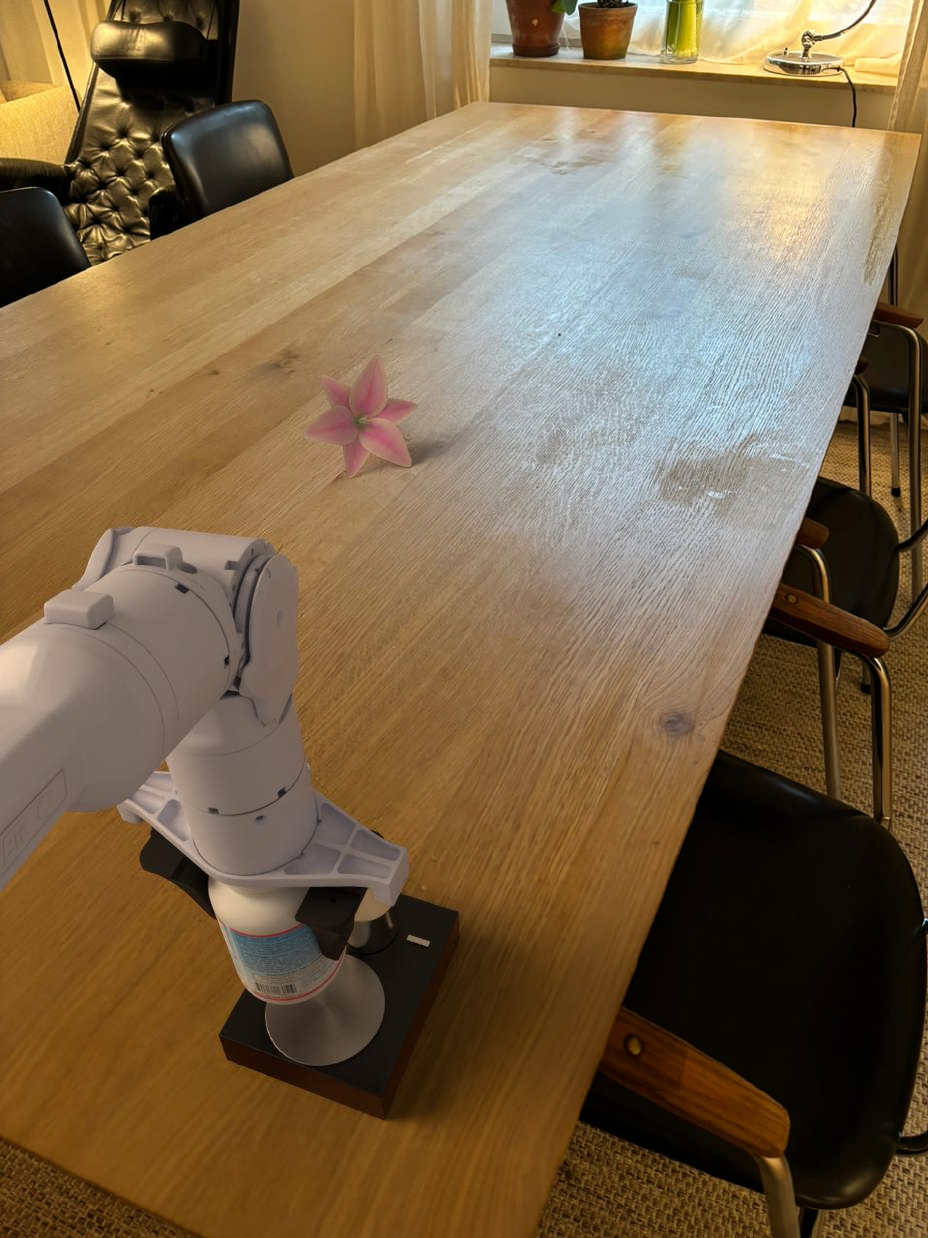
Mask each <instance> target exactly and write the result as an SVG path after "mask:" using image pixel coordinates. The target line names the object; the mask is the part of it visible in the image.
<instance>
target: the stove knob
mask: <svg viewBox="0 0 928 1238" xmlns="http://www.w3.org/2000/svg"><path fill="white" fill-rule="evenodd" d="M399 924H400V921H399V910H398V899H397V900H396V903H395V905H394V906H389V905H386V904H383V903H380V902H377V901H375V900H374V897H373V891H372V889H371V888H368V890H367V892H366V894H365V896H364V898H363V900H362V902H361V904H360V906H359V908H358V910H357V912H356V914H355V919H354V928H353V932H352V934H351V936H350V938H349V940H348V942H347V944H346V949H348V950H350V951H352V952H356V953H362V954H367V953H373V952H377V951H379V950H381V949H383V948H385V947H386V946H387V945H389V944H390V943H391V942H392V940H393V939H394V938H395V936H396V935H397V932H398V929H399Z"/></svg>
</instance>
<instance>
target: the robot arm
mask: <svg viewBox="0 0 928 1238" xmlns="http://www.w3.org/2000/svg"><path fill="white" fill-rule="evenodd" d="M299 606H300V581H299V571H298V565H293V563H292V561H291V559H290V558H289V557H288V556H286V555H285V554H281V553H280V554H278V553H277V552H276V549H275V547H274V545H272V543H271V542H270V541H268V540H266V539H265V538H259V537H251V536H250V537H249V536H241V535H234V534H233V535H231V534H222V533H213V532H204V531H194V530H186V529H177V528H168V527H167V528H166V527H159V526H149V525H143V526H138V527H133V526H130V525H125V526H124V525H123V526H119V527H117V528H112V527H110V528H107V530H105V532H104V533H103V534H102V535H101V537H100V538H99V540H98V541H97V543H96V545H95V546H94V548H93V550H92V553H91V555H90V557H89V560H88V562H87V565H86V568H85V571H84V573H83V574H82V577H81V578H80V579H79V580H78V581H77V582H76V583H73V584H72V586H71V589H70V588H68V589H64V590H63V591H61V592H60V593H57V594H56V595H55V596H53V597H52V598H50V599H48V600H47V601H46V602H44V604H43V612H44V616H43V617H41V618H40V619H38V620H37V621H35V622H34V623H32V624H30V625H29V626H27V627H26V628H25V629H23V630H22V631H20V632H19V633H17V634H16V635H14V636H13V637H11V638H9V639H8V640H6V641H5V642H4V643H2V644H0V894H1V893H2V892H3V890H5V888H6V887H7V886H8V884H9V883H10V881H11V880H12V879H13V878H14V877H15V875H16V874H17V873H18V871H19V870H20V869H21V868H22V866H23V865H24V864H25V863H26V862H27V860H28V859H29V857H30V856H31V855H32V854H33V853H34V851H35V850H36V849H37V847H38V846H39V845H40V844H41V843H42V842H43V841H44V839H45V838H46V837H47V835H48V834H49V832H51V830H52V829H53V828H54V826H55V825H56V824H57V822H58V821H59V820H60V819H61V818H62V816H63V815H64V814H65V813H66V812H69V813H95V812H100V811H104V810H108V809H112V808H114V807H116V808H117V810H118V813H119V815H120V817H121V820H122V821H124V822H127V823H131V824H134V825H141V824H142V823H144V822H146V823H147V824H149V826H150V827H151V829H150V831H149V834H150V837H149V838H148V840H147V841H146V843H145V844H144V845H143V847H142V848H141V850H140V852H139V855H138V858H139V859H138V860H139V864H140V866H141V868H142V870H143V871H145V872H148V873H151V874H154V875H157V876H160V877H161V878H163V879H165V880H166V881H169V882H170V883H172V884H174V885H175V886H176V887H177V888H179V889H180V890H182V891H183V892H184V893H186V895H187V896H189V897H190V898H191V899H192V900H193V901H194V902H195V903H196V904H197V905H198V906H199V907H200V908H201V909H202V910H203V911H204V912H205V913H206V914H207V915H208V916H209V917H211V918H212V919H213V920H215V921H218V920H217V917H216V915H215V912H214V909H213V907H212V903H211V900H210V897H209V891H208V880H209V875H210V876H211V877H212V878H214V879H215V880H217V881H219V882H221V883H224V884H227V885H230V886H236V887H247V888H252V887H310V888H309V890H308V892H307V894H306V896H305V897H304V899H303V901H302V903H301V905H300V907H299V909H298V911H297V912H296V914H295V920H296V921H298V922H301V923H304V924H306V925H307V926H309V927H310V929H311V930H312V931H313V932H314V934H315V935H316V938H317V941H318V944H319V948H320V951H321V953H322V954H323V955H324V956H325V957H326V958H329V959H332V960H335V961H337V960H339V959H340V957H341V955H342V953H343V950H344V948H345V946H346V944H347V942H348V940H349V938H350V936H351V934H352V932H353V928H354V919H355V914H356V912H357V910H358V908H359V906H360V904H361V902H362V900H363V898H364V896H365V894H366V892H367V890H368V888H371V889H372V891H373V897H374V900H375V901H377V902H380V903H383V904H386V905H389V906H394V905H395V903H396V900H397V898H398V896H399V894H400V893H401V892H402V890H403V888H404V886H405V884H406V881H407V878H408V876H409V874H410V863H409V854H408V848H407V847H404V846H401V845H398V844H395V843H393V842H391V841H389V840H386V839H385V837H384V836H383V835H382V834H381V833H380V832H378V831H376V830H372V829H370V828H368V827H366V826H365V825H363V824H362V823H361V822H360V821H358V820H357V819H356V818H354V817H353V816H351V815H350V814H349V813H348V812H346V811H345V810H343V809H342V808H341V807H340V806H338V805H337V804H335V803H333V801H331V800H330V799H328V798H327V797H326V796H324V795H323V794H322V793H320V792H319V791H318V790H316V789H314V788H313V785H312V776H313V772H312V767H311V765H310V763H309V762H308V759H307V755H306V749H305V745H304V739H303V734H302V729H301V725H300V719H299V714H298V710H297V705H296V699H295V695H294V690H293V689H294V687H295V685H296V682H297V680H298V677H299V674H300V666H299V664H300V660H301V657H300V651H299V645H298V637H297V635H298V633H297V632H298V618H299V609H300V608H299ZM164 762H166V765H167V768H168V771H164V770H163V771H162V770H157V769H158V768H159V767H161V765H162V764H163V763H164Z"/></svg>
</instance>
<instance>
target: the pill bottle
mask: <svg viewBox="0 0 928 1238" xmlns="http://www.w3.org/2000/svg"><path fill="white" fill-rule="evenodd" d="M309 888H310V887H252V888H247V887H236V886H230V885H227V884H224V883H221V882H219V881H217V880H215V879H214V878H212V877H211V876H210V875H209V880H208V891H209V897H210V900H211V903H212V907H213V909H214V912H215V915H216V917H217V920H216V921H217V922H218V925H219V928H220V930H221V933H222V936H223V938H224V941H225V944H226V947H227V949H228V952H229V955H230V957H231V959H232V963H233V965H234V968H235V970H236V973H237V975H238V977H239V980H240V981H241V983H242V984H243V986H244V987H246V988H247V990H248V991H249V992H251V993H252V994H253V995H254V996H256V997H257V998H259V999H261V1000H263V1001H266V1002H269V1003H273V1004H281V1005H287V1004H295V1003H300V1002H303V1001H306V1000H308V999H310V998H312V997H314V996H316V995H317V994H318V993H320V992H321V991H322V990H323V989H325V988H326V987H327V986H328V985H329V984H330V982H331V981H332V980H333V979H334V977H335V976H336V974H337V973H338V971H339V969H340V967H341V965H342V962H343V960H344V956H345V952H346V946H345V948H344V950H343V953H342V955H341V957H340V959H339V960H337V961H335V960H332V959H329V958H326V957H325V956H324V955H323V954H322V953H321V951H320V948H319V944H318V941H317V938H316V935H315V934H314V932H313V931H312V930H311V929H310V927H309V926H307V925H306V924H304V923H301V922H298V921H296V920H295V914H296V912H297V911H298V909H299V907H300V905H301V903H302V901H303V899H304V897H305V896H306V894H307V892H308V890H309Z"/></svg>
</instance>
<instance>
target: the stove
mask: <svg viewBox="0 0 928 1238" xmlns="http://www.w3.org/2000/svg"><path fill="white" fill-rule="evenodd" d="M397 899H398V910H399V921H400V924H399V929H398V932H397V935H396V936H395V938H394V939H393V940H392V942H391V943H390V944H389V945H387V946H386V947H385V948H383V949H381V950H379V951H377V952H373V953H367V954H362V953H356V952H352V951H350V950H348V949H346V952H345V954H347V955H350V956H353V957H355V958H358V959H359V960H361V961H363V962H364V963H365V964H367V965H368V966H369V967H370V968H371V969H372V970H373V971H374V972H375V974H376V975H377V976H378V978H379V980H380V982H381V985H382V987H383V991H384V996H385V1012H384V1017H383V1021H382V1024H381V1026H380V1029H379V1030H378V1032H377V1034H376V1036H375V1037H374V1039H373V1040H372V1041H371V1043H370V1044H369V1045H368V1046H367V1047H366V1048H365V1049H364V1050H363V1051H361V1052H360V1053H359V1054H357V1055H356V1056H354V1057H353V1058H351V1059H349V1060H347V1061H345V1062H342V1063H340V1064H337V1065H332V1066H327V1067H311V1066H305V1065H302V1064H298V1063H296V1062H294V1061H292V1060H290V1059H289V1058H287V1057H286V1056H284V1055H283V1054H282V1053H281V1052H280V1051H279V1050H278V1049H277V1048H276V1047H275V1045H274V1044H273V1042H272V1040H271V1038H270V1036H269V1033H268V1030H267V1026H266V1019H265V1012H266V1005H267V1002H266V1001H263V1000H261V999H259V998H257V997H256V996H254V995H253V994H252V993H251V992H249V991H248V990H247V988H246V987H245V986H244V987H245V988H244V989H243V991H242V993H241V995H240V996H239V998H238V999H237V1002H236V1003H235V1005H234V1007H233V1008H232V1010H231V1012H230V1014H229V1015H228V1016H227V1019H226V1021H225V1023H224V1024H223V1025H222V1027H221V1029H220V1031H219V1032H218V1034H217V1035H218V1038H219V1042H220V1044H221V1047H222V1049H223V1052H224V1055H225V1058H226V1060H227V1061H229V1062H232V1063H235V1064H237V1065H239V1066H242V1067H245V1068H247V1069H250V1070H253V1071H255V1072H257V1073H261V1074H263V1075H265V1076H267V1077H271V1078H273V1079H276V1080H279V1081H281V1082H283V1083H287V1084H288V1085H291V1086H294V1087H296V1088H299V1089H302V1090H304V1091H307V1092H310V1093H311V1094H315V1095H317V1096H319V1097H322V1098H325V1099H327V1100H330V1101H332V1102H335V1103H338V1104H339V1105H340V1104H341V1105H342V1106H346V1107H348V1108H351V1109H354V1110H356V1111H359V1112H361V1113H364V1114H366V1115H369V1116H372V1117H373V1118H377V1119H379V1120H382V1121H385V1120H386V1118H387V1115H388V1113H389V1110H390V1108H391V1106H392V1103H393V1101H394V1098H395V1096H396V1094H397V1091H398V1089H399V1086H400V1084H401V1082H402V1079H403V1077H404V1074H405V1071H406V1070H407V1067H408V1064H409V1062H410V1060H411V1058H412V1055H413V1053H414V1050H415V1048H416V1045H417V1043H418V1041H419V1038H420V1036H421V1033H422V1031H423V1028H424V1026H425V1024H426V1021H427V1018H428V1017H429V1014H430V1011H431V1008H432V1007H433V1004H434V1002H435V999H436V997H437V994H438V992H439V990H440V987H441V984H442V982H443V980H444V978H445V976H446V973H447V970H448V967H449V966H450V963H451V960H452V958H453V956H454V953H455V951H456V948H457V946H458V944H459V941H460V939H461V938H460V935H461V934H460V933H461V932H460V912H459V911H457V910H455V909H454V910H453V909H451V908H448V907H445V906H441V905H438V904H435V903H432V902H428V901H425V900H422V899H419V898H416V897H413V896H410V895H407V894H404V893H401V892H400V894H399V896H398V898H397Z"/></svg>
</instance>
